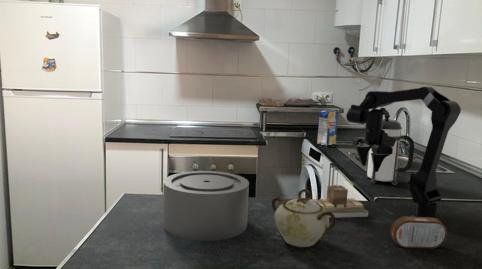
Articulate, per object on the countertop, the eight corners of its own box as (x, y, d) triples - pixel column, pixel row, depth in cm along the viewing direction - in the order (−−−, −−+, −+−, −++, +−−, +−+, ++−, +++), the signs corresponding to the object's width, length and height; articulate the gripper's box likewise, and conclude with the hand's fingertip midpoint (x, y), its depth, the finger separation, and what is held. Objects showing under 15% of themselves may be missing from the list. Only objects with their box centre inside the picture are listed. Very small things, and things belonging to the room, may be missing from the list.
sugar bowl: (344, 243, 117) (349, 190, 114) (319, 261, 105) (324, 203, 103) (284, 224, 128) (287, 177, 126) (255, 239, 117) (258, 186, 114)
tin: (441, 245, 118) (444, 216, 117) (447, 250, 115) (450, 220, 114) (388, 244, 118) (391, 215, 116) (392, 248, 114) (395, 219, 113)
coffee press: (387, 188, 174) (394, 116, 169) (356, 179, 187) (362, 112, 182) (411, 183, 184) (418, 115, 179) (380, 175, 197) (386, 111, 192)
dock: (367, 216, 139) (368, 211, 139) (313, 218, 135) (314, 212, 135) (355, 207, 148) (355, 202, 147) (304, 208, 144) (304, 203, 144)
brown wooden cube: (346, 204, 139) (348, 189, 138) (332, 204, 138) (333, 189, 137) (340, 199, 144) (341, 184, 143) (326, 199, 143) (327, 185, 142)
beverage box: (316, 145, 267) (319, 111, 263) (326, 144, 274) (328, 110, 271) (326, 147, 262) (328, 112, 258) (335, 145, 270) (338, 111, 266)
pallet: (364, 211, 140) (364, 204, 139) (315, 212, 136) (316, 206, 136) (354, 204, 146) (354, 198, 146) (308, 205, 143) (308, 199, 143)
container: (155, 214, 133) (156, 173, 131) (229, 207, 143) (231, 169, 141) (173, 245, 110) (174, 197, 108) (260, 235, 120) (262, 190, 118)
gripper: (409, 130, 143) (404, 175, 146) (380, 123, 161) (376, 162, 164) (379, 130, 141) (374, 175, 143) (353, 122, 159) (350, 162, 162)
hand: (369, 168), depth 153 cm, fingers open, 9 cm apart
